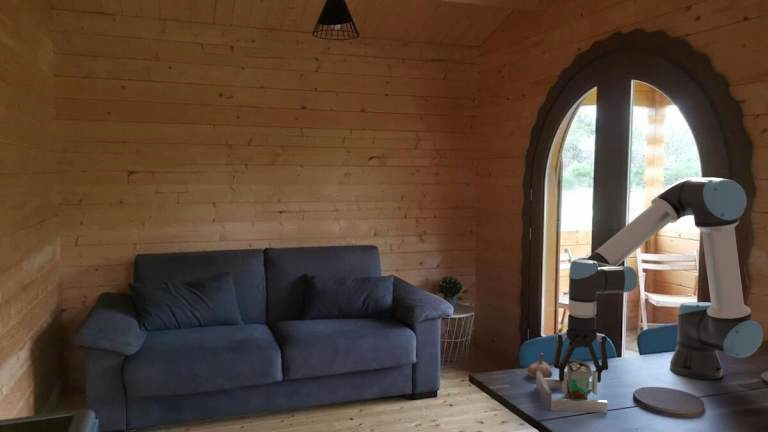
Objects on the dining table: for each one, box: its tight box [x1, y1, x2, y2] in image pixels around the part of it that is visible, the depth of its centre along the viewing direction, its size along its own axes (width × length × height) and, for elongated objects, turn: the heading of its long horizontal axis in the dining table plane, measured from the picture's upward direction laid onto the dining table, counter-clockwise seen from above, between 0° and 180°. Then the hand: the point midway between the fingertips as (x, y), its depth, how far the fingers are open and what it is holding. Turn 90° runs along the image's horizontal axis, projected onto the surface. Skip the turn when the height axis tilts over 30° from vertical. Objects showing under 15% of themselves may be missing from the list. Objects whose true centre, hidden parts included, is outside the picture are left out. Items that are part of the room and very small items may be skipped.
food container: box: [566, 358, 592, 400], centre depth 171 cm, size 12×6×10 cm, turn 169°
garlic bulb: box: [527, 352, 553, 379], centre depth 190 cm, size 8×7×8 cm
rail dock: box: [535, 371, 609, 414], centre depth 171 cm, size 16×17×5 cm
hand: (579, 392), depth 171 cm, fingers open, 8 cm apart
